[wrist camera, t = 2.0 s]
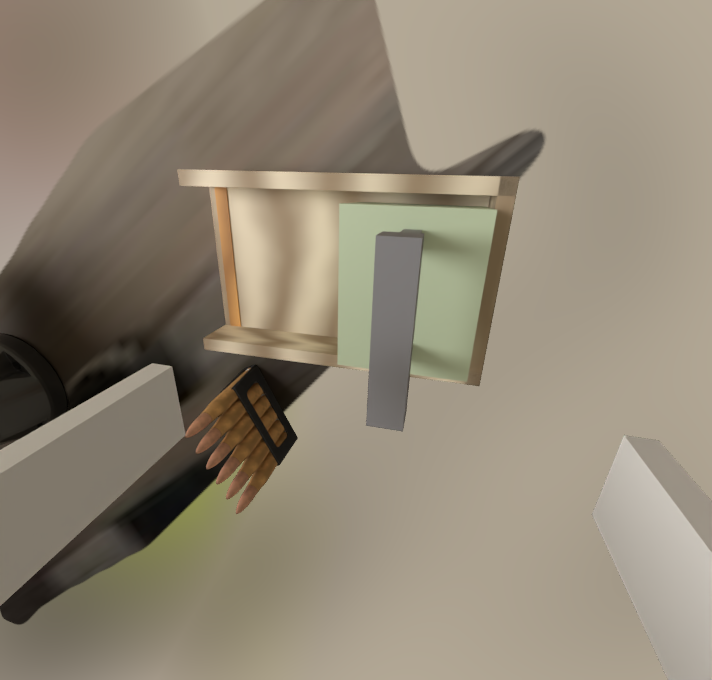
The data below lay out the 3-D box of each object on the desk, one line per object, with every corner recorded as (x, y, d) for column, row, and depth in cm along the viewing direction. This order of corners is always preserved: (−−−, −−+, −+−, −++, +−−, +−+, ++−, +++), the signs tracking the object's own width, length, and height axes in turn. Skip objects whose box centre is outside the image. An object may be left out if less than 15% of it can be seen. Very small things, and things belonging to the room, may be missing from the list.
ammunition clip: (243, 368, 41) (172, 430, 30) (256, 363, 40) (187, 425, 29) (285, 441, 44) (234, 522, 33) (297, 438, 43) (249, 519, 32)
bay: (233, 331, 39) (204, 349, 34) (215, 173, 33) (177, 169, 28) (474, 359, 34) (479, 386, 29) (506, 180, 28) (519, 176, 23)
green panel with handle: (356, 333, 34) (297, 428, 20) (361, 201, 29) (288, 207, 16) (462, 345, 32) (477, 459, 18) (484, 206, 28) (528, 217, 14)
